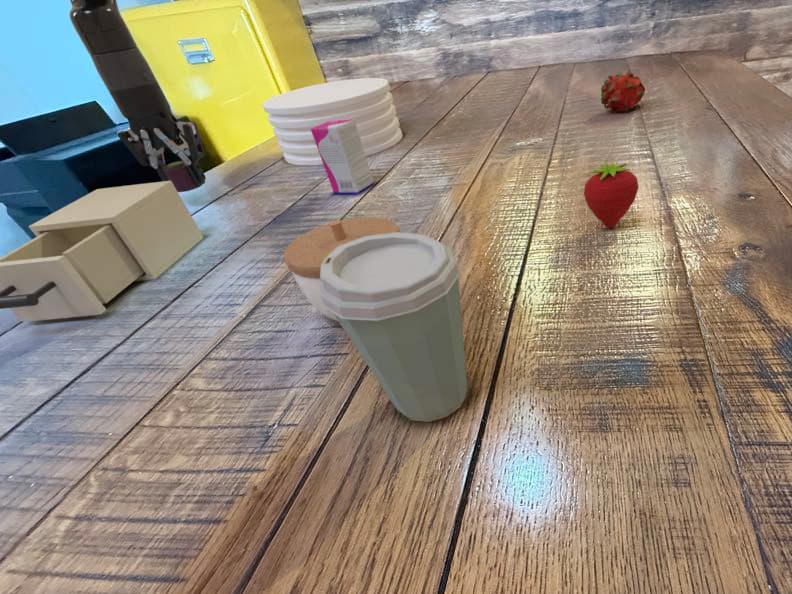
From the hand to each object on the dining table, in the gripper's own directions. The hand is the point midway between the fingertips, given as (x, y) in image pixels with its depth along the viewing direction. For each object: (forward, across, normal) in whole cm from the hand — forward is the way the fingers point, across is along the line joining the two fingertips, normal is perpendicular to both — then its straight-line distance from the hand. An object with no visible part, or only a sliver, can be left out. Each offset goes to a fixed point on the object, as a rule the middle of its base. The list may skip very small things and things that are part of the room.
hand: (187, 185), depth 98 cm
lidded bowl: (+4, -47, +47) cm, 66 cm away
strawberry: (+4, -78, +30) cm, 84 cm away
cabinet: (+4, -4, +25) cm, 25 cm away
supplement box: (+4, -32, +1) cm, 32 cm away
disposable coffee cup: (+4, -58, +65) cm, 87 cm away
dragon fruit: (+3, -87, -36) cm, 94 cm away
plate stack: (+4, -20, -32) cm, 38 cm away
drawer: (+3, -4, +38) cm, 39 cm away
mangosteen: (0, 0, 0) cm, 0 cm away
